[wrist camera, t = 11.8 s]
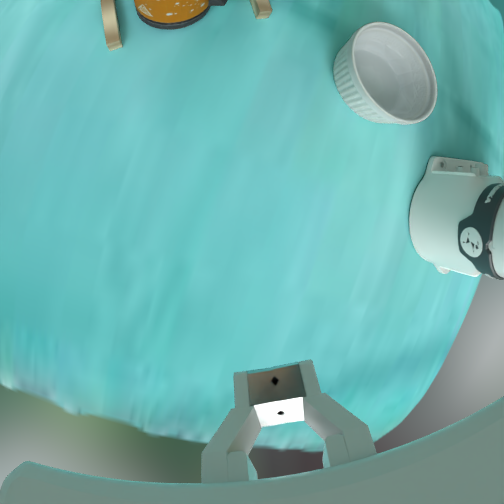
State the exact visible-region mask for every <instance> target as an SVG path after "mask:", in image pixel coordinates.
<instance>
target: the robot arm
mask: <svg viewBox="0 0 504 504" xmlns="http://www.w3.org/2000/svg"><path fill="white" fill-rule="evenodd" d="M440 164H441V165H440ZM409 227H410V235H411V239H412V243H413V245H414V247H415V249H416V251H417V253H418V254H419V255H420V256H421V257H422V258H423V259H424V260H426V261H428V262H431V263H433V264H434V265H435V267H436V269H437V270H438V271H439V272H440V273H443V274H447V273H448V272H449V271H451V270H452V271H456V272H459V273H463V274H466V275H470V276H474V277H476V276H478V275H479V274H481V273H482V274H485V275H487V276H488V277H491V278H496V279H499V280H503V279H504V182H503V180H502V179H501V177H499V176H492V175H489V174H488V165H487V164H484V163H482V162H476V161H470V160H463V159H455V158H447V157H439V156H432V157H431V158H430V159H429V162H428V165H427V170H426V174H425V176H424V178H423V179H422V181H421V182H420V184H419V185H418V187H417V189H416V191H415V193H414V196H413V199H412V203H411V208H410V216H409ZM233 377H234V397H235V408H234V409H231V410H230V412H229V413H228V415H227V416H226V418H225V419H224V421H223V422H222V424H221V425H220V427H219V428H218V430H217V431H216V433H215V434H214V436H213V437H212V439H211V440H210V442H209V443H208V445H207V446H206V448H205V449H204V450H203V452H202V483H197V484H196V483H195V484H183V483H182V484H181V483H178V484H177V483H153V482H140V481H128V480H119V479H112V478H104V477H98V476H92V475H86V474H81V473H75V472H70V471H66V470H61V469H57V468H53V467H49V466H45V465H41V464H38V463H34V462H30V461H25V462H23V463H22V464H20V465H19V466H18V467H17V468H15V469H14V470H13V471H12V472H11V473H10V474H9V475H8V476H7V477H6V479H5V480H4V482H3V484H2V487H1V489H0V504H504V396H503V397H502V398H500V399H498V400H497V401H495V402H493V403H492V404H490V405H488V406H486V407H485V408H483V409H481V410H479V411H477V412H476V413H474V414H472V415H470V416H468V417H466V418H464V419H462V420H460V421H458V422H456V423H454V424H452V425H450V426H448V427H445V428H443V429H441V430H439V431H437V432H434V433H432V434H430V435H427V436H425V437H423V438H420V439H418V440H415V441H413V442H410V443H407V444H405V445H402V446H399V447H397V448H394V449H391V450H388V451H385V452H382V453H379V454H377V453H376V450H375V447H374V444H373V440H372V437H371V434H370V431H369V428H368V425H366V424H365V423H364V422H362V421H361V420H360V419H358V418H357V417H356V416H354V415H353V414H352V413H350V412H349V411H348V410H347V409H345V408H344V407H343V406H341V405H340V404H339V403H337V402H336V401H335V400H334V399H332V398H331V397H330V396H329V395H327V394H326V393H321V390H320V387H319V383H318V379H317V376H316V372H315V369H314V365H313V362H312V360H311V359H310V360H305V361H301V362H294V363H289V364H284V365H279V366H274V367H271V368H264V369H257V370H250V371H242V372H235V373H234V376H233ZM300 420H304V421H305V422H306V423H307V424H308V425H309V426H310V427H311V428H312V429H313V430H314V431H315V432H316V433H317V434H318V435H319V436H320V437H321V438H322V439H323V440H324V441H325V443H324V452H323V465H324V469H319V470H315V471H310V472H305V473H299V474H294V475H288V476H281V477H275V478H267V479H259V480H258V479H257V472H256V470H255V468H254V466H253V465H252V463H251V461H250V459H249V457H248V454H249V452H250V450H251V448H252V446H253V444H254V442H255V440H256V438H257V437H258V435H259V433H260V431H261V429H262V428H261V427H265V426H271V425H276V424H282V423H288V422H294V421H300Z"/></svg>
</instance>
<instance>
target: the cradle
mask: <svg viewBox="0 0 504 504" xmlns="http://www.w3.org/2000/svg"><path fill="white" fill-rule="evenodd" d="M250 2H251V5H252V8H253V11H254V14H255V17H256V19H262V18H268V17H269V15H270V14H271V12H272V8H271V6H270V3H269V0H250ZM101 9H102V17H103V24H104V31H105V38H106V44H107V46H108V48H109V50H110V51H112V50H115V49H118V48H121V47H122V42H121V36H120V30H119V24H118V18H117V11H116V5H115V0H101Z"/></svg>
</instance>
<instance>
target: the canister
mask: <svg viewBox="0 0 504 504" xmlns="http://www.w3.org/2000/svg"><path fill="white" fill-rule="evenodd" d="M227 1H228V0H134V2H135V7H136V11H137V14H138V16H139V18H140V19H141V20H142V21H143V22H145V23H146V24H148V25H150V26H152V27H155V28H159V29H179V28H183V27H187V26H189V25H192V24H194V23H195V22H197V21H199V20H200V19H201V18H202V17H203V16H205V15H206V13H207V12H208V10H209V8H210V6H224V5H225V4H226V2H227Z"/></svg>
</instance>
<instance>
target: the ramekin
mask: <svg viewBox="0 0 504 504" xmlns="http://www.w3.org/2000/svg"><path fill="white" fill-rule="evenodd" d="M333 70H334V71H333V74H334V80H335V84H336V87H337V90H338V91H339V94H340V95H341V97H342V99H343V100H344V101H345V103H346V104H347V105H348V106H349V107H350V109H352V110H353V111H354V112H355V113H356V114H358V115H359V116H360V117H363V118H364V119H366V120H369V121H372V122H376V123H397V124H403V125H408V124H414V123H418V122H421V121H423V120H424V119H426V118H427V117H428V116H429V115H430V114H431V113H432V111H433V109H434V107H435V104H436V100H437V81H436V76H435V73H434V70H433V67H432V64H431V62H430V60H429V58H428V56H427V55H426V53H425V51H424V50H423V49H422V47H421V46H420V45H419V43H418V42H417V41H416V40H415V39H414V38H413V37H412V36H411V35H409V34H408V33H407V32H405V31H404V30H402V29H401V28H399V27H397V26H395V25H392V24H389V23H386V22H372V23H368V24H366V25H364V26H362V27H361V28H359V29H358V30H356V31H355V32H354V33H353V35H352V36H351V38H350V40H349V41H348V42H347V43H346V44H345V45H344V46H343V47H342V48H341V50H340V51H339V52H338V54H337V56H336V58H335V61H334V67H333Z"/></svg>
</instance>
